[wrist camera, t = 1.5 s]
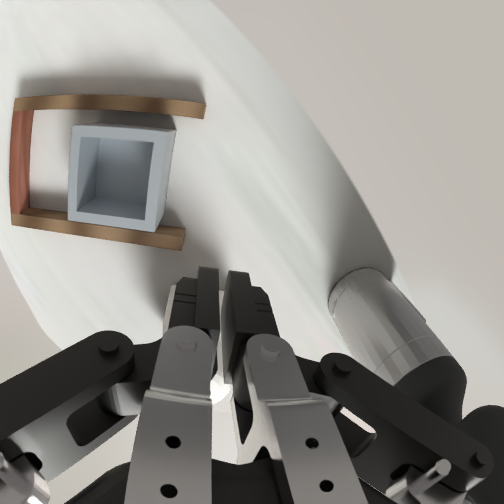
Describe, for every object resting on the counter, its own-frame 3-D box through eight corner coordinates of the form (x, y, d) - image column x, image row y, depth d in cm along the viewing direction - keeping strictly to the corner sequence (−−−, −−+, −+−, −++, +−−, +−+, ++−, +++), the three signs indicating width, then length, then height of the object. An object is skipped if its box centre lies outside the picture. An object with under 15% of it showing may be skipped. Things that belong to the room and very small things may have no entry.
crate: (176, 129, 28) (167, 132, 22) (164, 212, 31) (154, 232, 26) (97, 122, 26) (72, 125, 20) (90, 202, 29) (67, 220, 24)
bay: (206, 105, 27) (205, 103, 24) (183, 241, 33) (181, 250, 30) (26, 98, 22) (14, 98, 20) (21, 217, 28) (11, 225, 26)
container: (168, 331, 38) (157, 409, 26) (171, 283, 35) (155, 361, 23) (225, 337, 39) (230, 415, 28) (234, 290, 36) (243, 369, 24)
